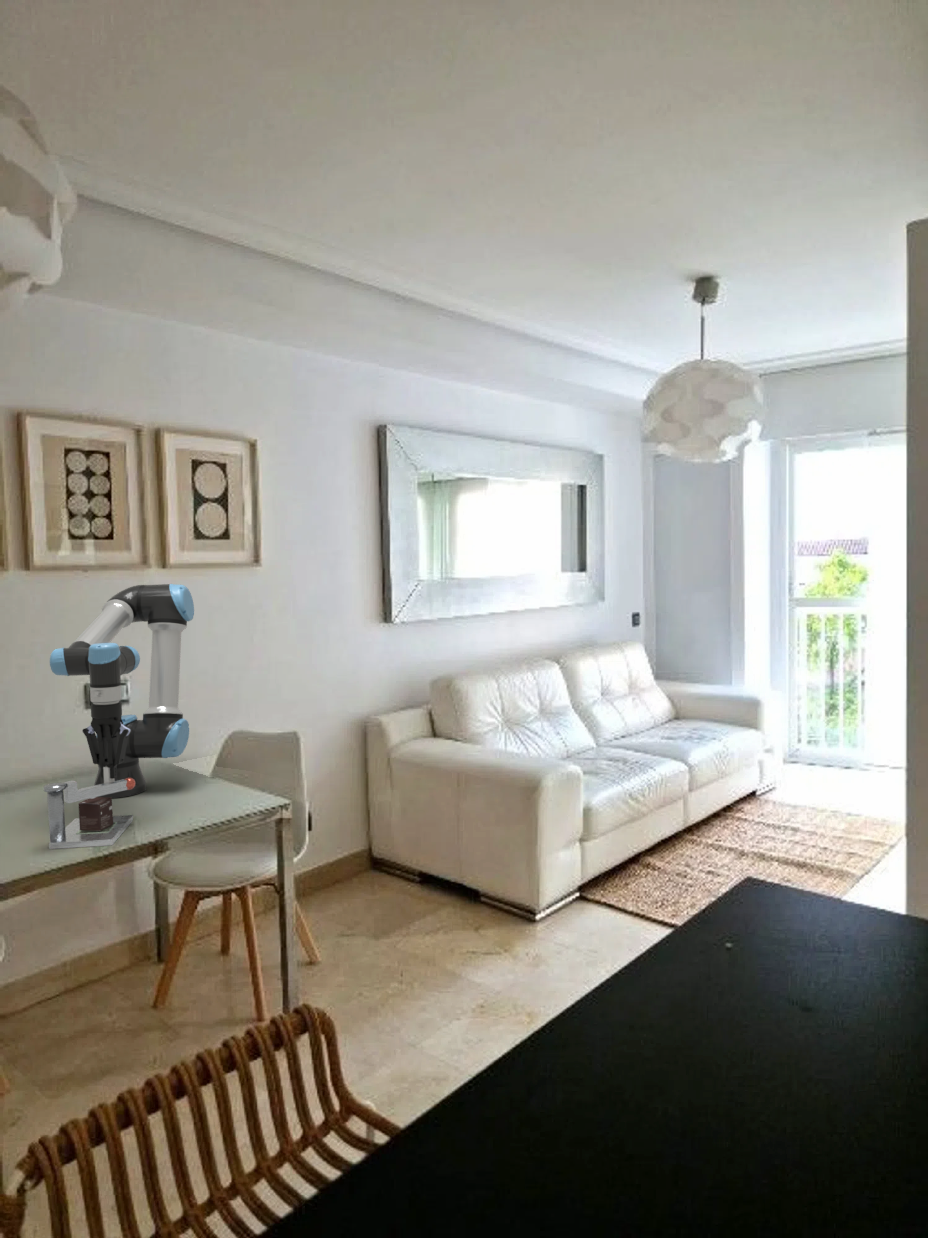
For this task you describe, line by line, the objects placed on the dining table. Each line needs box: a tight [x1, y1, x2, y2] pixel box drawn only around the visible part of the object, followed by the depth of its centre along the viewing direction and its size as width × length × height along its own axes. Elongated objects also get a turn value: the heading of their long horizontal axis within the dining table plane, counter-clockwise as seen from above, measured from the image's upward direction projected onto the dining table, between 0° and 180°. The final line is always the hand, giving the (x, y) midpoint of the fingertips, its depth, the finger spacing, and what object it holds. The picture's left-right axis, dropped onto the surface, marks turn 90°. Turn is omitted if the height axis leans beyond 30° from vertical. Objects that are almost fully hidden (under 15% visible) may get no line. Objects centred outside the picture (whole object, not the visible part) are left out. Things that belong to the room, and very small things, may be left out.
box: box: [78, 797, 114, 831], centre depth 220 cm, size 6×6×7 cm
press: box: [46, 790, 134, 850], centre depth 220 cm, size 20×15×14 cm
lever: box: [43, 778, 135, 804], centre depth 217 cm, size 23×5×5 cm, turn 138°
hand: (109, 790), depth 223 cm, fingers closed
